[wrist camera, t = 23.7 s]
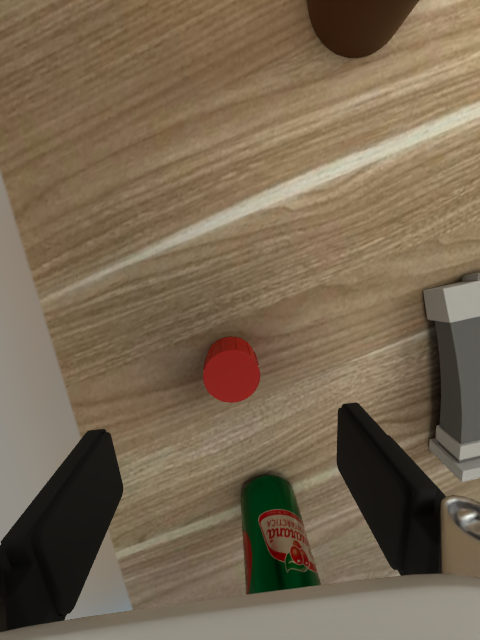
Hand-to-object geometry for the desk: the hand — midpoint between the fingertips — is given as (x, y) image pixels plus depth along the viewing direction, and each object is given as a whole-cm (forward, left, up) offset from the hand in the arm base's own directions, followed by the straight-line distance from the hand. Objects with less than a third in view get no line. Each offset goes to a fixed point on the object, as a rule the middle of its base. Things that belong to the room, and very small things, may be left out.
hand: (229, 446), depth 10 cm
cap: (0, 0, -11) cm, 11 cm away
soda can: (+9, -11, -11) cm, 18 cm away
